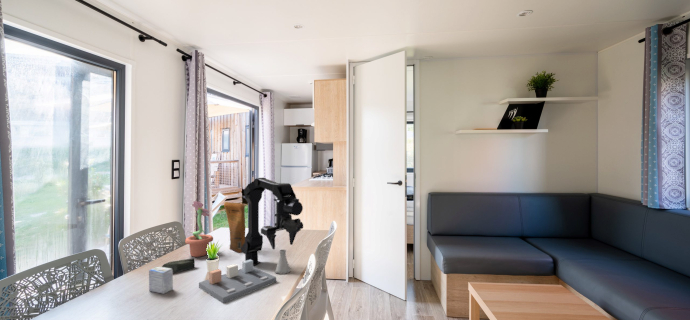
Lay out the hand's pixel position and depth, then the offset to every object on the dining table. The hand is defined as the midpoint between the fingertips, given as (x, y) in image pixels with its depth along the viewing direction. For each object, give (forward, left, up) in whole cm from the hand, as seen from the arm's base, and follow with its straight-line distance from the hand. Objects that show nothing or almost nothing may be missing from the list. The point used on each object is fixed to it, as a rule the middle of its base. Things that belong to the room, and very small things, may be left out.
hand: (282, 246), depth 128 cm
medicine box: (-29, -39, -14) cm, 50 cm away
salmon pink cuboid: (-15, -23, -12) cm, 30 cm away
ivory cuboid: (-15, -16, -12) cm, 25 cm away
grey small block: (-15, -8, -12) cm, 21 cm away
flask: (-7, +5, -14) cm, 17 cm away
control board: (-10, -16, -14) cm, 23 cm away
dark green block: (-45, -27, -15) cm, 54 cm away
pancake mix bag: (-52, +7, -14) cm, 54 cm away
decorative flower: (-60, -10, -14) cm, 62 cm away
